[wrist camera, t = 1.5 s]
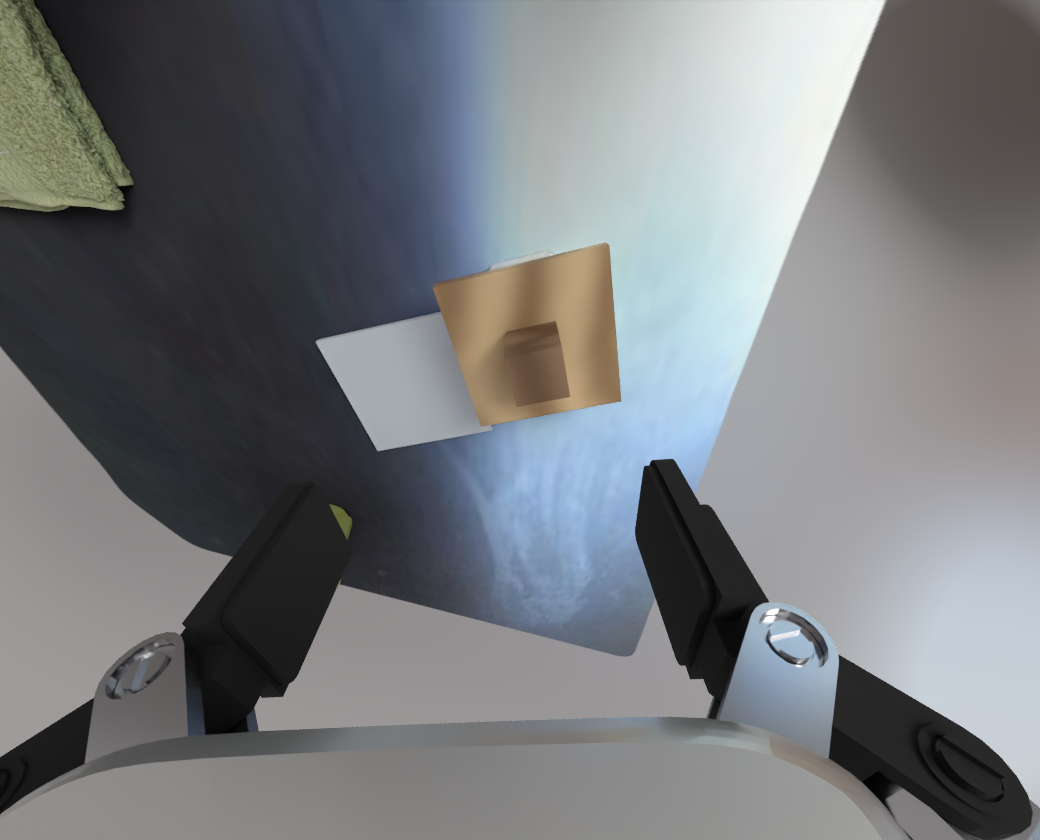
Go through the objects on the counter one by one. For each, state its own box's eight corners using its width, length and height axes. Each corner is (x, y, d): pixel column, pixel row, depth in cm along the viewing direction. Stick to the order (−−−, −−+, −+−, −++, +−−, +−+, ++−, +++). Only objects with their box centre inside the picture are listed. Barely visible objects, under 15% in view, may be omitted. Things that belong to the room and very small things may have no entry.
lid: (605, 242, 26) (626, 260, 21) (618, 394, 34) (635, 434, 28) (435, 283, 28) (416, 308, 23) (482, 419, 35) (475, 462, 30)
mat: (453, 308, 34) (452, 310, 34) (492, 427, 42) (492, 430, 41) (318, 339, 36) (315, 341, 35) (379, 448, 44) (377, 451, 43)
